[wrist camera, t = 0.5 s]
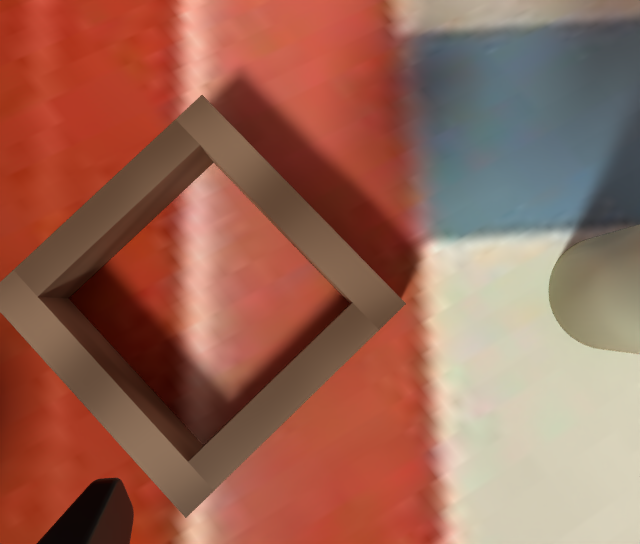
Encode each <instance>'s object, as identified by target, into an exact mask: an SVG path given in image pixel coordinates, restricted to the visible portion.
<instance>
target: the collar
mask: <svg viewBox="0 0 640 544" xmlns="http://www.w3.org/2000/svg"><path fill="white" fill-rule="evenodd" d="M213 162H214V163H215V164H216V165H217V166H218V167H219V168H220V169H221V170H222V172H223V173H224V174H225V175H226V176H227V177H228V178H229V179H230V180H231V181H232V182H233V183H234V184H235V185H236V186H237V187H238V188H239V189H240V190H241V191H242V192H243V193H244V194H245V195H246V196H247V197H248V198H249V199H250V201H251V202H252V203H253V204H254V205H255V206H256V207H257V208H258V209H259V210H260V211H261V212H262V213H263V214H264V215H265V216H266V217H267V218H268V219H269V220H270V221H271V222H272V223H273V224H274V225H275V226H276V227H277V228H278V230H279V231H280V232H281V233H282V234H283V235H284V236H285V237H286V238H287V239H288V240H289V241H290V242H291V243H292V244H293V245H294V246H295V247H296V248H297V249H298V250H299V251H300V252H301V253H302V254H303V255H304V256H305V257H306V259H307V260H308V261H309V262H310V263H311V264H312V265H313V266H314V267H315V268H316V269H317V270H318V271H319V272H320V273H321V274H322V275H323V276H324V277H325V278H326V279H327V280H328V281H329V282H330V283H331V284H332V285H333V286H334V288H335V289H336V290H337V291H338V292H339V293H340V294H341V295H342V296H343V297H344V298H345V299H346V300H347V301H348V302H349V303H350V305H349V306H348V307H347V308H345V309H344V310H343V311H342V312H341V313H340V314H339V315H338V316H337V317H336V318H335V319H334V320H333V321H332V322H331V323H330V324H329V325H328V326H327V327H326V328H325V329H324V330H323V331H322V332H321V333H320V334H319V335H318V336H317V337H315V338H314V339H313V340H312V341H311V342H310V343H309V344H308V345H307V346H306V347H305V348H304V349H303V350H302V351H301V352H300V353H299V354H298V355H297V356H296V357H295V358H294V359H293V360H292V361H291V362H290V363H289V364H288V365H287V366H286V367H284V368H283V369H282V370H281V371H280V372H279V373H278V374H277V375H276V376H275V377H274V378H273V379H272V380H271V381H270V382H269V383H268V384H267V385H266V386H265V387H264V388H263V389H262V390H261V391H260V392H259V393H258V394H257V395H256V396H254V397H253V398H252V399H251V400H250V401H249V402H248V403H247V404H246V405H245V406H244V407H243V408H242V409H241V410H240V411H239V412H238V413H237V414H236V415H235V416H234V417H233V418H232V419H231V420H230V421H229V422H228V423H227V424H226V425H224V426H223V427H222V428H221V429H220V430H219V431H218V432H217V433H216V434H215V435H214V436H213V437H212V438H211V439H210V440H209V441H208V442H207V443H206V444H205V445H204V446H203V445H202V444H201V443H200V442H199V441H198V440H197V438H196V437H195V436H194V435H193V434H192V433H191V432H190V431H189V430H188V429H187V428H186V426H185V425H184V424H183V423H182V422H181V421H180V420H179V419H178V418H177V417H176V416H175V414H174V413H173V412H172V411H171V410H170V409H169V408H168V407H167V406H166V405H165V403H164V402H163V401H162V400H161V399H160V398H159V397H158V396H157V395H156V394H155V393H154V391H153V390H152V389H151V388H150V387H149V386H148V385H147V384H146V383H145V382H144V381H143V379H142V378H141V377H140V376H139V375H138V374H137V373H136V372H135V371H134V370H133V369H132V367H131V366H130V365H129V364H128V363H127V362H126V361H125V360H124V359H123V358H122V356H121V355H120V354H119V353H118V352H117V351H116V350H115V349H114V348H113V347H112V346H111V344H110V343H109V342H108V341H107V340H106V339H105V338H104V337H103V336H102V335H101V334H100V332H99V331H98V330H97V329H96V328H95V327H94V326H93V325H92V324H91V323H90V322H89V320H88V319H87V318H86V317H85V316H84V315H83V314H82V313H81V312H80V311H79V309H78V308H77V307H76V306H75V305H74V304H73V303H72V302H71V301H70V300H69V299H68V298H69V297H70V296H72V295H73V294H74V293H75V292H76V291H77V290H78V289H79V288H80V287H81V286H82V285H83V284H84V283H85V282H86V281H88V280H89V279H90V278H91V277H92V276H93V275H94V274H95V273H96V272H97V271H98V270H99V269H100V268H101V267H102V266H104V265H105V264H106V263H107V262H108V261H109V260H110V259H111V258H112V257H113V256H114V255H115V254H116V253H117V252H118V251H120V250H121V249H122V248H123V247H124V246H125V245H126V244H127V243H128V242H129V241H130V240H131V239H132V238H133V237H134V236H136V235H137V234H138V233H139V232H140V231H141V230H142V229H143V228H144V227H145V226H146V225H147V224H148V223H149V222H150V221H152V220H153V219H154V218H155V217H156V216H157V215H158V214H159V213H160V212H161V211H162V210H163V209H164V208H165V207H166V206H168V205H169V204H170V203H171V202H172V201H173V200H174V199H175V198H176V197H177V196H178V195H179V194H180V193H181V192H182V191H184V190H185V189H186V188H187V187H188V186H189V185H190V184H191V183H192V182H193V181H194V180H195V179H196V178H197V177H198V176H200V175H201V174H202V173H203V172H204V171H205V170H206V169H207V168H208V167H209V166H210V165H211V164H212V163H213ZM405 304H406V303H405V302H404V301H403V300H402V299H401V298H400V297H399V296H398V295H397V294H396V293H395V292H394V291H393V290H392V289H391V288H390V287H389V286H388V285H387V284H386V283H385V282H384V281H383V280H382V279H381V278H380V277H379V276H378V275H377V274H376V272H375V271H374V270H373V269H372V268H371V267H370V266H369V265H368V264H367V263H366V262H365V261H364V260H363V259H362V258H361V257H360V256H359V255H358V254H357V253H356V252H355V251H354V250H353V249H352V248H351V247H350V246H349V245H348V244H347V243H346V242H345V241H344V240H343V239H342V238H341V237H340V236H339V235H338V234H337V233H336V232H335V230H334V229H333V228H332V227H331V226H330V225H329V224H328V223H327V222H326V221H325V220H324V219H323V218H322V217H321V216H320V215H319V214H318V213H317V212H316V211H315V210H314V209H313V208H312V207H311V206H310V205H309V204H308V203H307V202H306V201H305V200H304V199H303V198H302V197H301V196H300V195H299V194H298V193H297V192H296V191H295V189H294V188H293V187H292V186H291V185H290V184H289V183H288V182H287V181H286V180H285V179H284V178H283V177H282V176H281V175H280V174H279V173H278V172H277V171H276V170H275V169H274V168H273V167H272V166H271V165H270V164H269V163H268V162H267V161H266V160H265V159H264V158H263V157H262V156H261V155H260V154H259V153H258V152H257V151H256V150H255V149H254V147H253V146H252V145H251V144H250V143H249V142H248V141H247V140H246V139H245V138H244V137H243V136H242V135H241V134H240V133H239V132H238V131H237V130H236V129H235V128H234V127H233V126H232V125H231V124H230V123H229V122H228V121H227V120H226V119H225V118H224V117H223V116H222V115H221V114H220V113H219V112H218V111H217V110H216V109H215V108H214V106H213V105H212V104H211V103H210V102H209V101H208V100H207V99H206V98H205V97H204V96H203V95H201V96H200V97H199V98H198V99H197V100H196V101H195V102H194V103H193V104H192V105H191V106H190V107H188V108H187V109H186V110H185V111H184V112H183V113H182V114H181V115H180V116H179V117H178V118H177V119H176V120H174V121H173V122H172V123H171V124H170V125H169V126H168V127H167V128H166V129H165V130H164V131H163V132H162V133H160V134H159V135H158V136H157V137H156V138H155V139H154V140H153V141H152V142H151V143H150V144H149V145H148V146H146V147H145V148H144V149H143V150H142V151H141V152H140V153H139V154H138V155H137V156H136V157H135V158H134V159H132V160H131V161H130V162H129V163H128V164H127V165H126V166H125V167H124V168H123V169H122V170H121V171H120V172H118V173H117V174H116V175H115V176H114V177H113V178H112V179H111V180H110V181H109V182H108V183H107V184H106V185H104V186H103V187H102V188H101V189H100V190H99V191H98V192H97V193H96V194H95V195H94V196H93V197H92V198H90V199H89V200H88V201H87V202H86V203H85V204H84V205H83V206H82V207H81V208H80V209H79V210H78V211H76V212H75V213H74V214H73V215H72V216H71V217H70V218H69V219H68V220H67V221H66V222H65V223H64V224H62V225H61V226H60V227H59V228H58V229H57V230H56V231H55V232H54V233H53V234H52V235H51V236H50V237H48V238H47V239H46V240H45V241H44V242H43V243H42V244H41V245H40V246H39V247H38V248H37V249H36V250H34V251H33V252H32V253H31V254H30V255H29V256H28V257H27V258H26V259H25V260H24V261H23V262H22V263H20V264H19V265H18V266H17V267H16V268H15V269H14V270H13V271H12V272H11V273H10V274H9V275H8V276H6V277H5V278H4V279H3V280H2V281H1V282H0V312H1V313H2V314H3V315H4V316H5V318H6V319H7V320H8V321H9V322H10V323H11V324H12V325H13V326H14V328H15V329H16V330H17V331H18V332H19V333H20V334H21V335H22V336H23V338H24V339H25V340H26V341H27V342H28V343H29V344H30V345H31V346H32V348H33V349H34V350H35V351H36V352H37V353H38V354H39V355H40V356H41V358H42V359H43V360H44V361H45V362H46V363H47V364H48V365H49V366H50V368H51V369H52V370H53V371H54V372H55V373H56V374H57V375H58V376H59V378H60V379H61V380H62V381H63V382H64V383H65V384H66V385H67V386H68V388H69V389H70V390H71V391H72V392H73V393H74V394H75V395H76V396H77V398H78V399H79V400H80V401H81V402H82V403H83V404H84V405H85V406H86V408H87V409H88V410H89V411H90V412H91V413H92V414H93V415H94V416H95V418H96V419H97V420H98V421H99V422H100V423H101V424H102V425H103V426H104V428H105V429H106V430H107V431H108V432H109V433H110V434H111V435H112V436H113V438H114V439H115V440H116V441H117V442H118V443H119V444H120V445H121V446H122V448H123V449H124V450H125V451H126V452H127V453H128V454H129V455H130V456H131V458H132V459H133V460H134V461H135V462H136V463H137V464H138V465H139V466H140V468H141V469H142V470H143V471H144V472H145V473H146V474H147V475H148V476H149V478H150V479H151V480H152V481H153V482H154V483H155V484H156V485H157V486H158V488H159V489H160V490H161V491H162V492H163V493H164V494H165V495H166V496H167V498H168V499H169V500H170V501H171V502H172V503H173V504H174V505H175V506H176V508H177V509H178V510H179V511H180V512H181V513H182V514H183V515H184V516H185V518H186V517H187V516H188V515H189V514H190V513H191V512H192V511H194V510H195V509H196V508H197V507H198V506H199V505H200V504H201V503H202V502H203V501H204V500H205V499H206V498H207V497H208V496H209V495H210V494H211V493H212V492H213V491H214V490H215V489H216V488H217V487H218V486H219V485H220V484H221V483H222V482H223V481H224V480H225V479H226V478H227V477H228V476H229V475H231V474H232V473H233V472H234V471H235V470H236V469H237V468H238V467H239V466H240V465H241V464H242V463H243V462H244V461H245V460H246V459H247V458H248V457H249V456H250V455H251V454H252V453H253V452H254V451H255V450H256V449H257V448H258V447H259V446H260V445H261V444H262V443H263V442H264V441H265V440H266V439H268V438H269V437H270V436H271V435H272V434H273V433H274V432H275V431H276V430H277V429H278V428H279V427H280V426H281V425H282V424H283V423H284V422H285V421H286V420H287V419H288V418H289V417H290V416H291V415H292V414H293V413H294V412H295V411H296V410H297V409H298V408H299V407H300V406H301V405H302V404H304V403H305V402H306V401H307V400H308V399H309V398H310V397H311V396H312V395H313V394H314V393H315V392H316V391H317V390H318V389H319V388H320V387H321V386H322V385H323V384H324V383H325V382H326V381H327V380H328V379H329V378H330V377H331V376H332V375H333V374H334V373H335V372H336V371H337V370H338V369H339V368H341V367H342V366H343V365H344V364H345V363H346V362H347V361H348V360H349V359H350V358H351V357H352V356H353V355H354V354H355V353H356V352H357V351H358V350H359V349H360V348H361V347H362V346H363V345H364V344H365V343H366V342H367V341H368V340H369V339H370V338H371V337H372V336H373V335H374V334H375V333H376V332H378V331H379V330H380V329H381V328H382V327H383V326H384V325H385V324H386V323H387V322H388V321H389V320H390V319H391V318H392V317H393V316H394V315H395V314H396V313H397V312H398V311H399V310H400V309H401V308H402V307H403V306H404V305H405Z"/></svg>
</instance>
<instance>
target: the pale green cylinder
mask: <svg viewBox="0 0 640 544" xmlns="http://www.w3.org/2000/svg"><path fill="white" fill-rule="evenodd" d="M549 301H550V305H551V309H552V311H553V314H554V316H555V318H556V320H557V321H558V323H559V324H560V326H561V327H562V328H563V329H564V331H565V332H566V333H567V334H569V335H570V336H571V337H572V338H574V339H575V340H577V341H578V342H580V343H582V344H584V345H587V346H589V347H593V348H597V349H603V350H611V351H618V352H626V353H633V354H640V224H639V225H636V226H632V227H629V228H625V229H622V230H618V231H615V232H611V233H608V234H604V235H601V236H597V237H594V238H590V239H587V240H584V241H581V242H579V243H577V244H575V245H574V246H572V247H571V248H569V249H568V250H567V251H566V252H565V253H564V254H563V255H562V256H561V257H560V258H559V260H558V261H557V263H556V264H555V266H554V268H553V271H552V274H551V277H550V281H549Z"/></svg>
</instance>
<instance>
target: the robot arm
mask: <svg viewBox="0 0 640 544" xmlns="http://www.w3.org/2000/svg"><path fill="white" fill-rule="evenodd" d="M133 516H134V514H133V506H132V504H131V501H130V499H129V497H128V494H127V492H126V489H125V487H124V485H123V483H122V481H121V480H120V479H119V478H105V479H97V480H95V481H93V482H92V483H91V484H90V485H89V486H88V487H87V488H86V489H85V490H84V492H83V493H82V494H81V495H80V496H79V497H78V498H77V499H76V501H75V502H74V503H73V504H72V505H71V506H70V507H69V508H68V509H67V511H66V512H65V513H64V514H63V515H62V516H61V517H60V518H59V519H58V521H57V522H56V523H55V524H54V525H53V526H52V527H51V528H50V529H49V531H48V532H47V533H46V534H45V535H44V536H43V537H42V538H41V539H40V541H39V542H38V543H37V544H130V538H131V531H132V525H133Z"/></svg>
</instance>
